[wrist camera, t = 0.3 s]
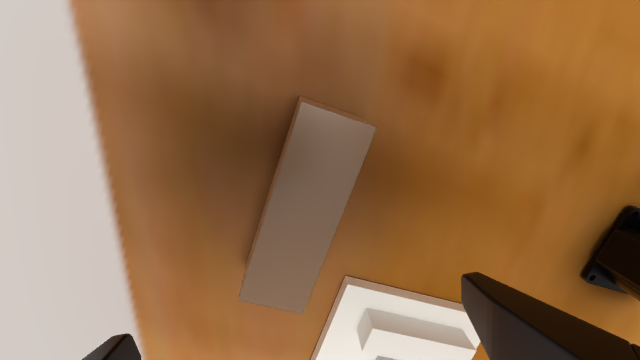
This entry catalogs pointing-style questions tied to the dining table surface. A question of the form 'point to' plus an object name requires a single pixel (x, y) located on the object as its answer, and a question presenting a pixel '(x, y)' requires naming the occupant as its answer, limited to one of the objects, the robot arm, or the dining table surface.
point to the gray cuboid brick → (304, 204)
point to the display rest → (394, 326)
